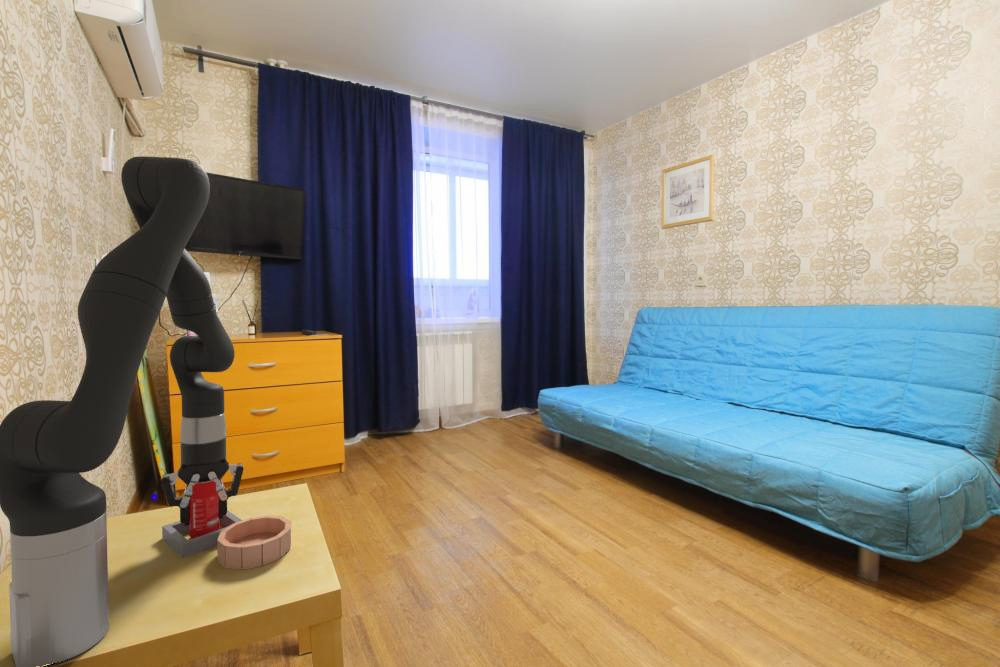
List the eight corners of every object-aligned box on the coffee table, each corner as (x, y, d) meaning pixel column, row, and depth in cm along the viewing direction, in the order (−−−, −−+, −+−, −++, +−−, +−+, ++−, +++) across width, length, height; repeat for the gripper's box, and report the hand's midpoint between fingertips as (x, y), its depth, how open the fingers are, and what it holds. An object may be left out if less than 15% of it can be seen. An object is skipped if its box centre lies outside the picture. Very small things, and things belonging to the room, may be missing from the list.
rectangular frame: (182, 558, 82) (182, 544, 82) (162, 538, 88) (162, 526, 88) (246, 534, 90) (246, 523, 90) (223, 518, 97) (223, 507, 97)
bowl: (235, 577, 76) (235, 554, 76) (207, 553, 84) (207, 532, 83) (302, 548, 86) (302, 528, 86) (272, 528, 93) (272, 510, 93)
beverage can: (194, 546, 86) (194, 485, 85) (184, 537, 89) (184, 478, 88) (224, 535, 90) (224, 477, 89) (213, 527, 93) (213, 471, 92)
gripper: (156, 447, 81) (157, 538, 82) (246, 436, 89) (246, 519, 90) (160, 436, 88) (161, 521, 88) (244, 427, 95) (244, 505, 96)
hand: (204, 520), depth 89 cm, fingers closed on beverage can, 5 cm apart
